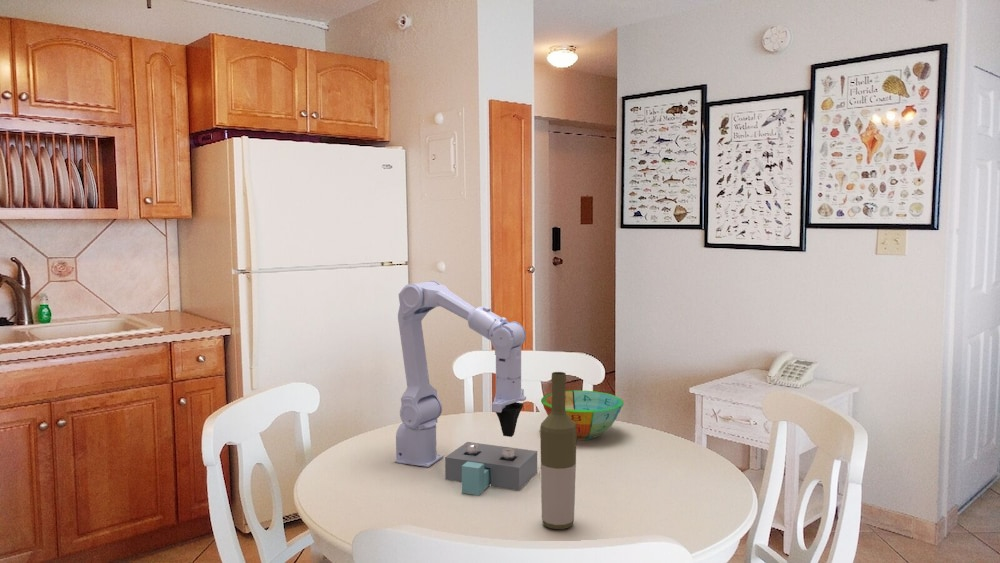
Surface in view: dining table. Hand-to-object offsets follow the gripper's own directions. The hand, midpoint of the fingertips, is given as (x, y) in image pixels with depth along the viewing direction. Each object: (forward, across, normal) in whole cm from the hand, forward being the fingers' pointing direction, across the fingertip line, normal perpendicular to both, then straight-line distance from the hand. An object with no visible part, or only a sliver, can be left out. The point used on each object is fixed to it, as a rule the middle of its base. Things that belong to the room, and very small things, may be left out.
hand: (508, 435), depth 161 cm
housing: (+10, +1, +4) cm, 11 cm away
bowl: (+11, +38, -6) cm, 40 cm away
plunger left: (+6, 0, +9) cm, 11 cm away
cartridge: (+10, -4, +4) cm, 12 cm away
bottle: (+11, -18, -18) cm, 27 cm away
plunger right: (+6, 0, 0) cm, 6 cm away
